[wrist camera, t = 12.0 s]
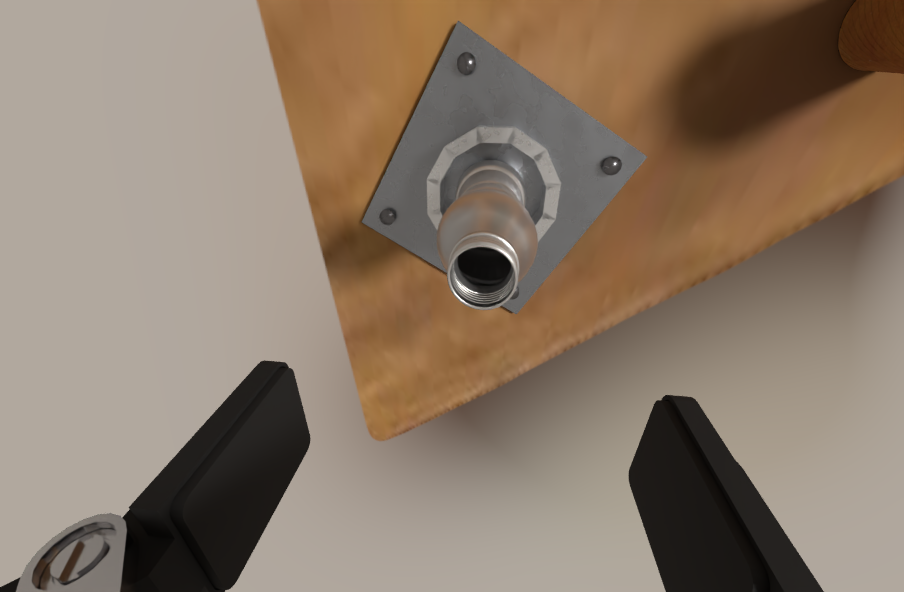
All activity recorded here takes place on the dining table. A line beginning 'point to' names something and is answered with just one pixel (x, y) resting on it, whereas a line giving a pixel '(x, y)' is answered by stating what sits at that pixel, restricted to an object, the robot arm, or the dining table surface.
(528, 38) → the dining table surface
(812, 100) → the dining table surface
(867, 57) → the disposable coffee cup
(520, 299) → the duct flange
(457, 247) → the plastic bottle
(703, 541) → the robot arm
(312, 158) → the dining table surface
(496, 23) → the dining table surface
